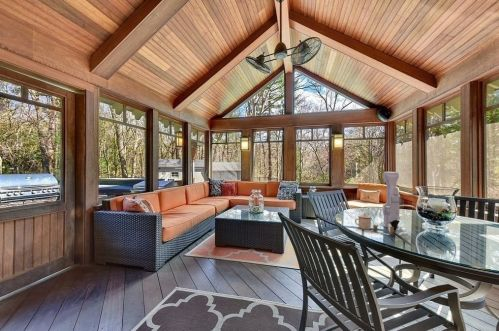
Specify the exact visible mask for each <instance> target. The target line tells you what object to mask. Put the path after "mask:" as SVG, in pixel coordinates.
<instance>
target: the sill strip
mask: <svg viewBox="0 0 499 331" xmlns="http://www.w3.org/2000/svg"><path fill="white" fill-rule="evenodd" d="M376 233H380V234H383V235H385V236H387V235H388V236H390V233H385V232H382V231H379V230H377V232H376Z"/></svg>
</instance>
